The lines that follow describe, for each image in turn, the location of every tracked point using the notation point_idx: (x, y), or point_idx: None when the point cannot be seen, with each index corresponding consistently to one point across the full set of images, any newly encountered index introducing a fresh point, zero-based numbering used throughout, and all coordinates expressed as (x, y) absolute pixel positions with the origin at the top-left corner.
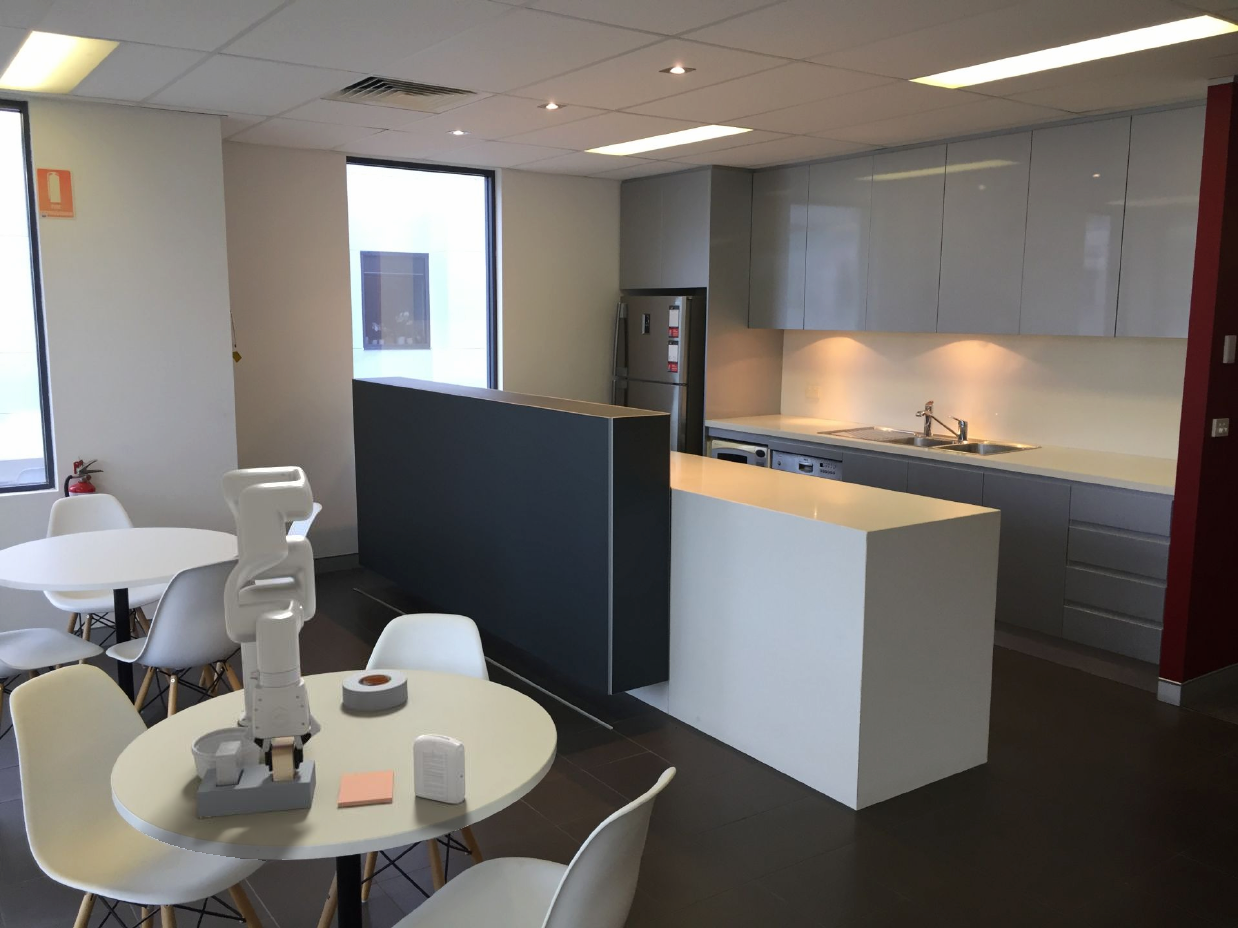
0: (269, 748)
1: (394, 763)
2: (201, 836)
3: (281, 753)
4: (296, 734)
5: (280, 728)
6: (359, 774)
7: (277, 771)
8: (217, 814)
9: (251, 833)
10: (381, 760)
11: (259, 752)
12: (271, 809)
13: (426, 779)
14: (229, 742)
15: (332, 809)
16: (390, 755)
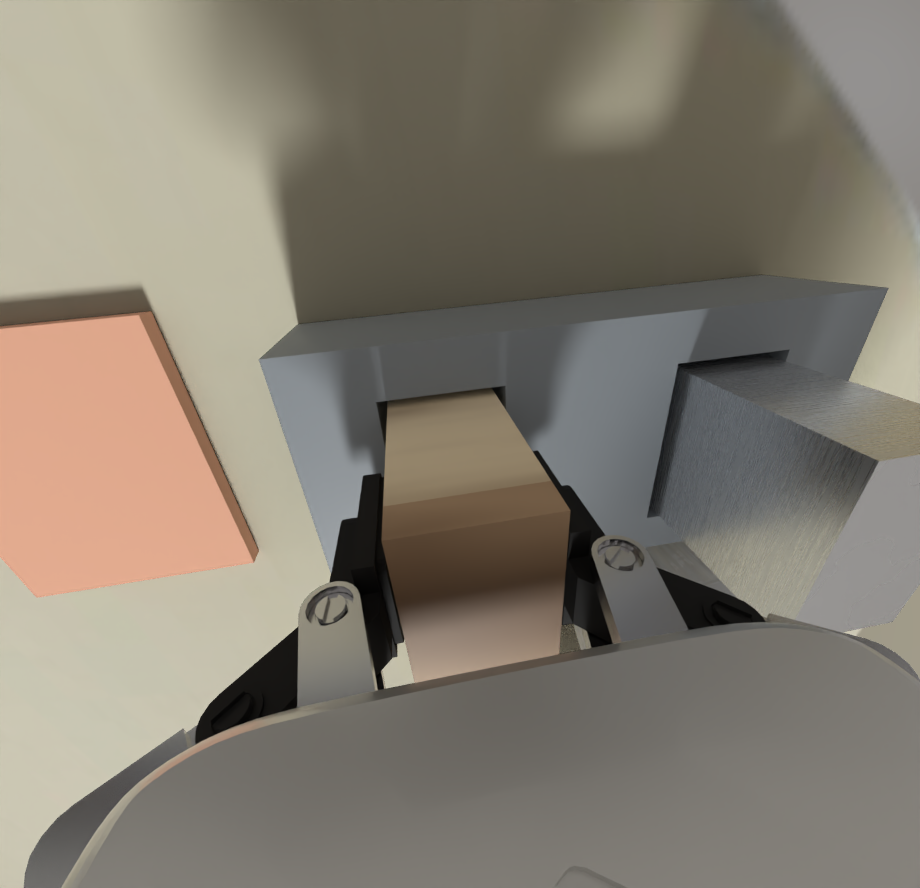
0: (587, 569)
1: (98, 642)
2: (772, 59)
3: (473, 501)
4: (287, 729)
5: (565, 843)
6: (177, 563)
7: (482, 420)
8: (696, 282)
9: (534, 38)
10: (166, 655)
11: (583, 648)
12: (476, 306)
13: None
14: (847, 623)
15: (169, 284)
16: (150, 681)
